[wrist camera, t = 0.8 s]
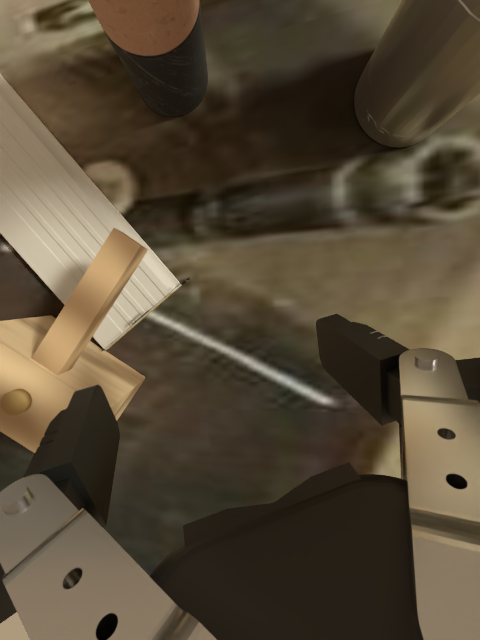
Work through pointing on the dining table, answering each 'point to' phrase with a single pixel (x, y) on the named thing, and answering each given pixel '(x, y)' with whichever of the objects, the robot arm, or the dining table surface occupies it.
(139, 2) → the travel mug
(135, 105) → the dining table surface
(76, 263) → the baseboard
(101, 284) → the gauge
